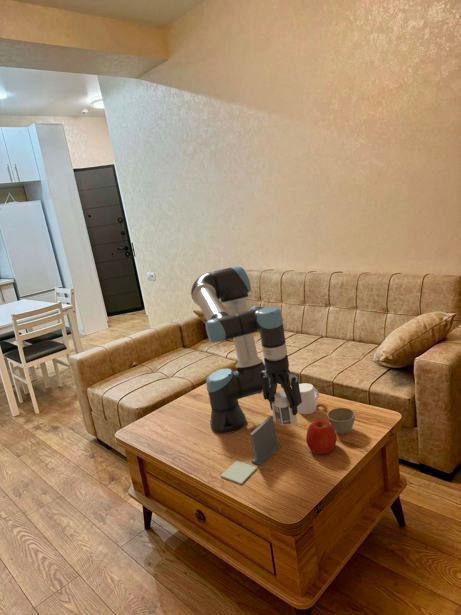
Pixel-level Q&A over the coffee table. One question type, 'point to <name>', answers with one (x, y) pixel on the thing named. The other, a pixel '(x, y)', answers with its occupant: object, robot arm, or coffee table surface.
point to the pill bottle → (282, 408)
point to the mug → (307, 398)
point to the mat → (238, 472)
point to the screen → (264, 441)
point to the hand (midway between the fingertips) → (285, 420)
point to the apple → (321, 437)
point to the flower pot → (341, 419)
